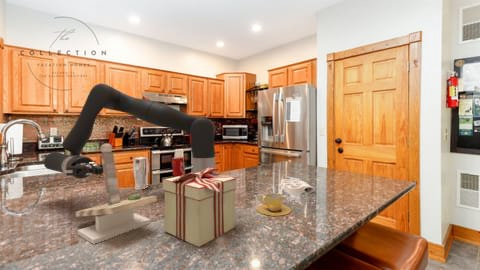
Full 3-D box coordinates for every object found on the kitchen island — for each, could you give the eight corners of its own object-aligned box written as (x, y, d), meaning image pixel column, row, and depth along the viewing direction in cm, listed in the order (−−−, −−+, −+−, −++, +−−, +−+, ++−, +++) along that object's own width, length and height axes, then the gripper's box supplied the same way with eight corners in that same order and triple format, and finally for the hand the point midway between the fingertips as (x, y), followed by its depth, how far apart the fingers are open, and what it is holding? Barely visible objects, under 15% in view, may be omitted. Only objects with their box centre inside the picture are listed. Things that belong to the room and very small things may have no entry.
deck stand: (77, 234, 65) (77, 215, 65) (132, 216, 78) (132, 200, 78) (93, 244, 59) (93, 224, 59) (150, 223, 72) (149, 206, 72)
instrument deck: (75, 216, 70) (67, 152, 72) (116, 205, 80) (108, 149, 82) (113, 213, 56) (102, 135, 59) (156, 200, 66) (145, 133, 68)
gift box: (212, 253, 55) (211, 180, 54) (159, 234, 64) (158, 172, 64) (248, 226, 69) (248, 168, 68) (201, 214, 79) (200, 163, 78)
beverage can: (182, 189, 110) (182, 158, 110) (170, 189, 112) (169, 158, 111) (187, 186, 116) (187, 156, 116) (175, 186, 118) (175, 156, 117)
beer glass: (136, 187, 116) (135, 157, 116) (150, 186, 117) (150, 156, 116) (131, 190, 109) (130, 159, 109) (146, 190, 110) (145, 158, 109)
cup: (292, 206, 86) (292, 192, 86) (289, 218, 75) (289, 202, 75) (261, 203, 90) (261, 189, 90) (253, 214, 79) (252, 198, 78)
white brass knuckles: (316, 195, 100) (283, 196, 100) (303, 185, 118) (274, 185, 118) (316, 187, 100) (283, 188, 100) (303, 178, 118) (274, 179, 118)
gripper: (54, 158, 78) (75, 162, 68) (97, 154, 88) (120, 157, 78) (55, 180, 78) (76, 187, 68) (98, 173, 89) (121, 179, 78)
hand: (100, 171), depth 73 cm, fingers closed
